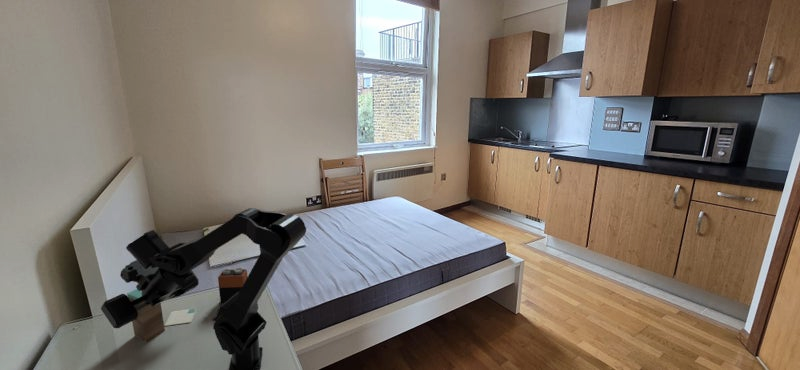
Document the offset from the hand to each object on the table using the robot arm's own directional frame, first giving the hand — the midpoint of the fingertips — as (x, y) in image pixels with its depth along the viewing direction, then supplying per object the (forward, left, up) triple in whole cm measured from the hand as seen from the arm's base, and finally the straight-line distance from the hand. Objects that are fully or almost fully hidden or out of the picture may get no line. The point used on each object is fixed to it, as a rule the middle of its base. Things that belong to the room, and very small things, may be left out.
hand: (142, 308), depth 81 cm
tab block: (-1, -1, -7) cm, 7 cm away
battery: (+9, -19, -7) cm, 22 cm away
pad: (+4, -7, -7) cm, 10 cm away
